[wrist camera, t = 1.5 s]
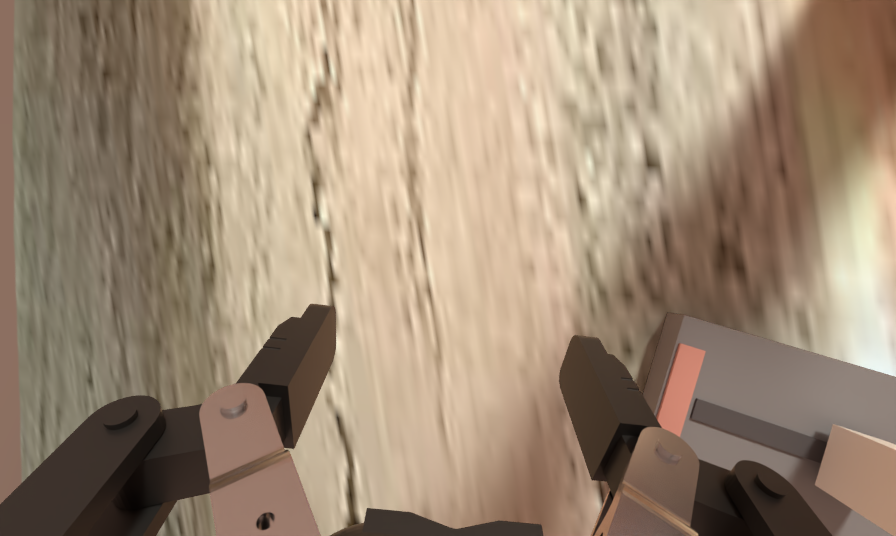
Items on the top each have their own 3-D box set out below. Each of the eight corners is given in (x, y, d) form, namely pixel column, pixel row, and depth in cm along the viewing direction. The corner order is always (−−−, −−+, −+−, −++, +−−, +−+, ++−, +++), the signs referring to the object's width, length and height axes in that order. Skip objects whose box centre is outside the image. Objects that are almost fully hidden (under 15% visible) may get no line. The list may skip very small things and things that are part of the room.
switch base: (667, 312, 29) (686, 314, 25) (1020, 416, 24) (1097, 436, 21) (622, 459, 28) (635, 480, 25) (968, 591, 24) (1038, 637, 21)
